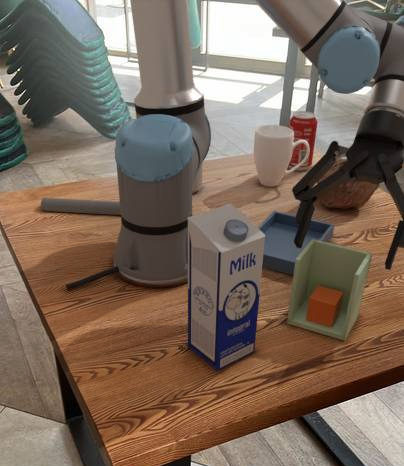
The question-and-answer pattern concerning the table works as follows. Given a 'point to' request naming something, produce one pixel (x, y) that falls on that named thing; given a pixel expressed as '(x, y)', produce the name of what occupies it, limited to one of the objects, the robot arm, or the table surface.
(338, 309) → the block
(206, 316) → the milk carton
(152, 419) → the table surface
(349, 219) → the table surface
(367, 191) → the decorative rock
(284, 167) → the mug
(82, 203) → the half round rod
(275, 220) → the tray
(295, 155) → the beverage can
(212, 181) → the table surface
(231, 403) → the table surface
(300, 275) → the box
